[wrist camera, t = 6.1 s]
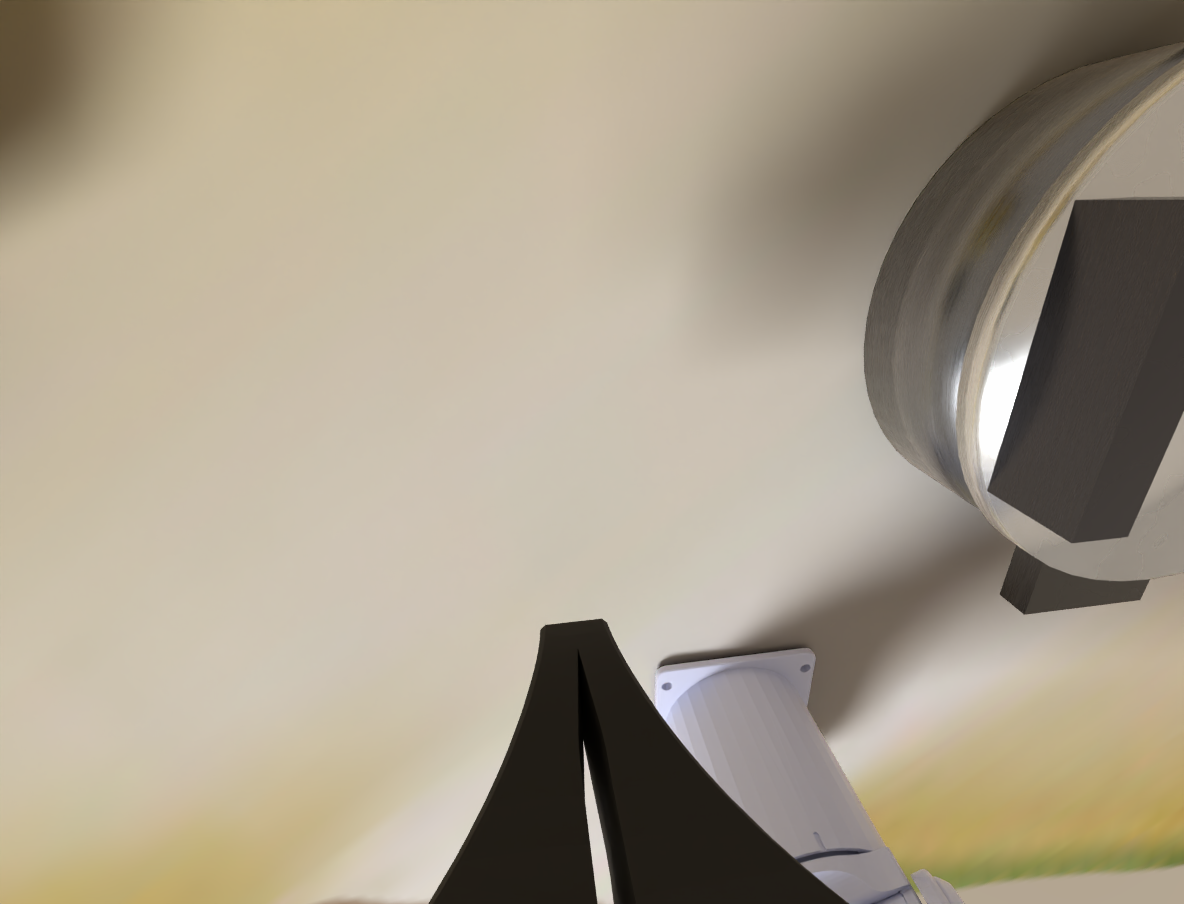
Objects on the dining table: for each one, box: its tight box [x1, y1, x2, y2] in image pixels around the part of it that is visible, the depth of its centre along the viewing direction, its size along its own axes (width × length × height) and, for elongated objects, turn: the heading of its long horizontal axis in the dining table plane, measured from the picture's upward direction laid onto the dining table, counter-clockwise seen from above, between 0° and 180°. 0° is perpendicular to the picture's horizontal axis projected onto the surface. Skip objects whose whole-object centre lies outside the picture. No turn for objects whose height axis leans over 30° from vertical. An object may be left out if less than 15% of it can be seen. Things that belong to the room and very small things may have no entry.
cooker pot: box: [864, 42, 1184, 615], centre depth 19 cm, size 22×16×5 cm
